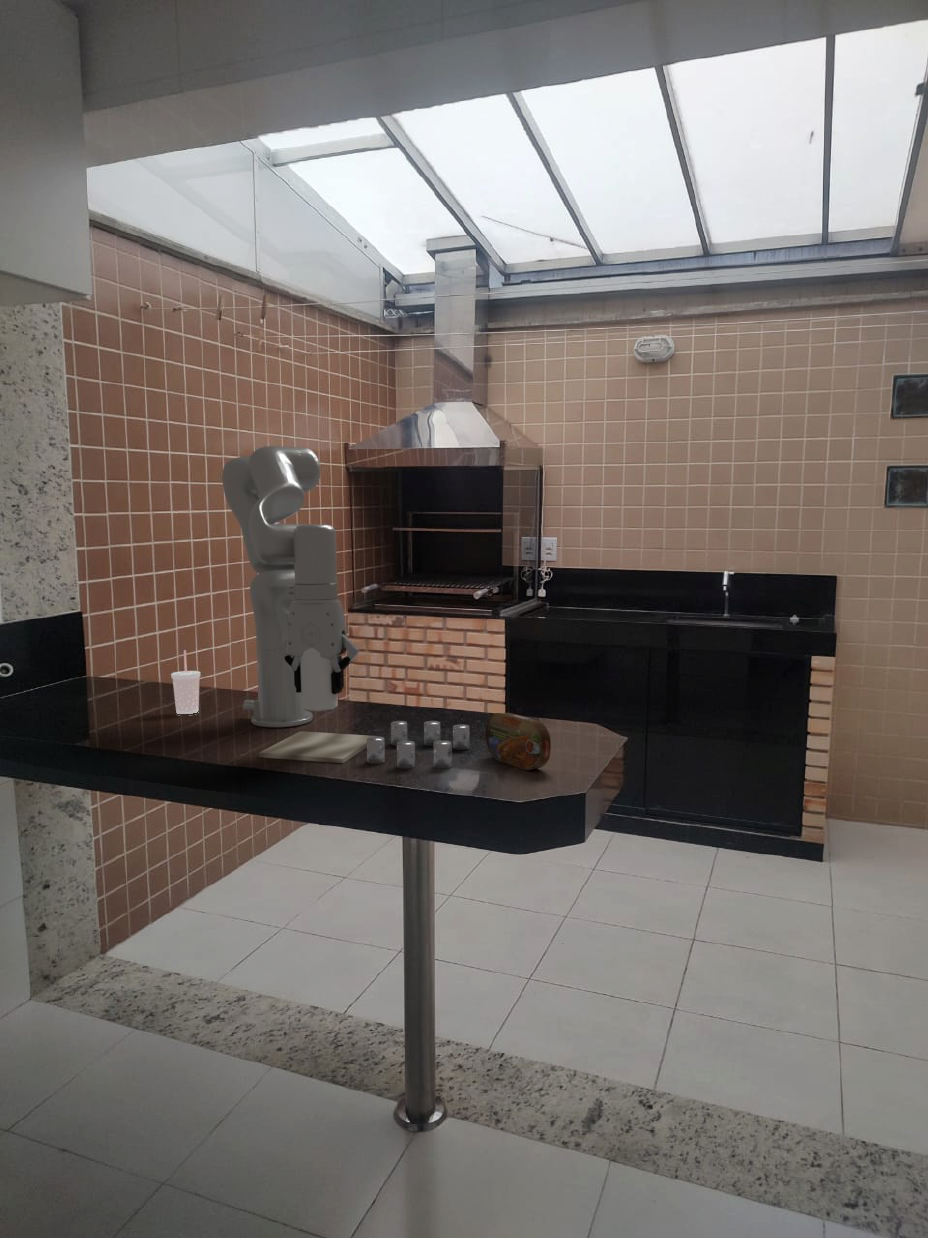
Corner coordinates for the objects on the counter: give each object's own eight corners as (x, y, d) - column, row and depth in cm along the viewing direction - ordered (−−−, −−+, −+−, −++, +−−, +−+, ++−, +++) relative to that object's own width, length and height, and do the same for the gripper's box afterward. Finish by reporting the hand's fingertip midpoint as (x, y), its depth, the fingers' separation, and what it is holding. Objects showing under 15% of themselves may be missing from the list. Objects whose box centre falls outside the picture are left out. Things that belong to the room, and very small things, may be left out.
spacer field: (361, 765, 138) (360, 742, 137) (397, 739, 155) (396, 718, 154) (446, 771, 134) (446, 748, 133) (473, 744, 151) (473, 723, 151)
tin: (484, 755, 143) (483, 709, 143) (498, 753, 145) (498, 706, 144) (539, 776, 131) (539, 725, 130) (554, 773, 133) (554, 722, 132)
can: (306, 704, 151) (304, 640, 150) (340, 704, 151) (339, 640, 150) (298, 712, 145) (295, 645, 143) (334, 712, 144) (332, 645, 143)
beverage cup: (177, 710, 181) (175, 648, 180) (205, 710, 182) (203, 648, 180) (169, 716, 175) (166, 652, 174) (197, 716, 176) (195, 652, 174)
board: (259, 757, 143) (259, 752, 143) (300, 735, 158) (300, 731, 158) (343, 763, 139) (343, 758, 139) (377, 740, 154) (377, 736, 154)
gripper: (262, 594, 144) (266, 694, 146) (353, 595, 140) (355, 698, 142) (282, 592, 152) (285, 686, 153) (369, 592, 147) (371, 690, 149)
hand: (319, 691), depth 147 cm, fingers closed on can, 6 cm apart
